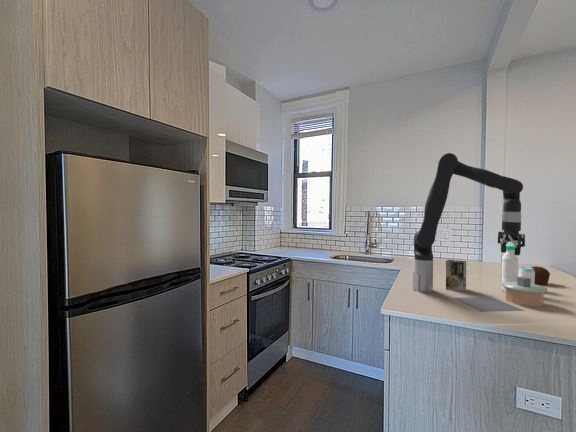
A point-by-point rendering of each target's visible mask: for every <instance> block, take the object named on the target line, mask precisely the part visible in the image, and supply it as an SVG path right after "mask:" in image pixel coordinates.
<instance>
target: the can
mask: <svg viewBox="0 0 576 432" xmlns="http://www.w3.org/2000/svg"><path fill="white" fill-rule="evenodd" d="M518 277H527V278H531V282H530V284H535V271H534V270H533V268H531V267H528V266H520V267H519V268H518Z"/></svg>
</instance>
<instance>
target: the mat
mask: <svg viewBox="0 0 576 432" xmlns="http://www.w3.org/2000/svg"><path fill="white" fill-rule="evenodd" d="M453 299H454V300H456V301H458V302H461V303H462V304H464V305H466V306H469V307H470V308H472V309H475V310H477V311H479V312H524V311H526V310H524V309H523V308H520V307H516V306H514V305H512V304H509V303H507V302H504V301H502V300H499V299H497V298H495V297H492V296H480V297H479V296H474V297H473V296H471V297H470V296H469V297H468V296H467V297H465V296H464V297H453Z"/></svg>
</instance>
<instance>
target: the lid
mask: <svg viewBox="0 0 576 432" xmlns="http://www.w3.org/2000/svg"><path fill="white" fill-rule="evenodd" d="M530 282H531V278H527V277H519V276H518V277H517V282H503V283H502V282H501V287H502V286H503V287H504V288H507V289H511V290H515V291H521V292H528V293H544V294H545V293H547V292H548V288H547V287H546V286H544V285H536V284H530Z"/></svg>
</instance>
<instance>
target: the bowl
mask: <svg viewBox="0 0 576 432" xmlns="http://www.w3.org/2000/svg"><path fill="white" fill-rule="evenodd" d="M544 298H545V293H528V292H521V291H515V290H511V289H507V288H505V291H504V299H505V301H506V302H509V303H511V304H514V305H519V306H522V307H523V306H526V307H532V308H533V307H534V308H535V307H536V308H537V307H539V308H540V307H544V306H545V305H544V304H545V302H544V301H545V299H544Z"/></svg>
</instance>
